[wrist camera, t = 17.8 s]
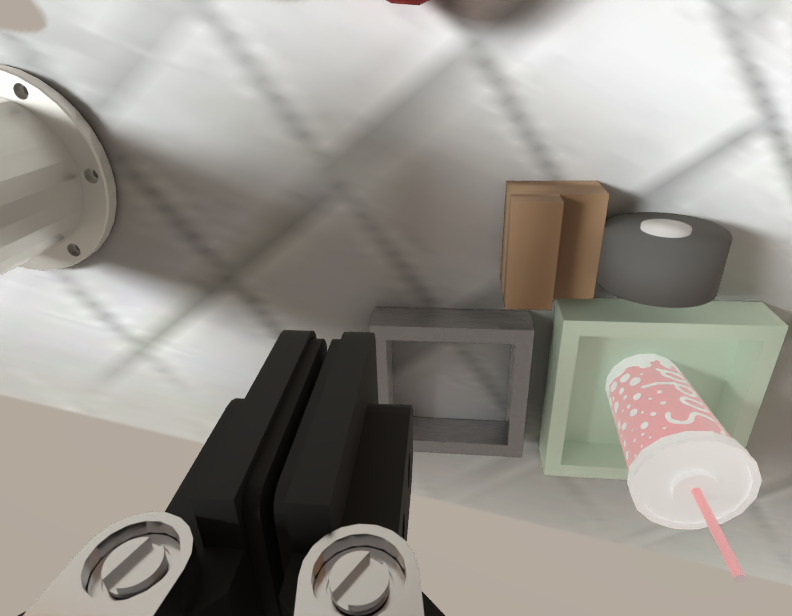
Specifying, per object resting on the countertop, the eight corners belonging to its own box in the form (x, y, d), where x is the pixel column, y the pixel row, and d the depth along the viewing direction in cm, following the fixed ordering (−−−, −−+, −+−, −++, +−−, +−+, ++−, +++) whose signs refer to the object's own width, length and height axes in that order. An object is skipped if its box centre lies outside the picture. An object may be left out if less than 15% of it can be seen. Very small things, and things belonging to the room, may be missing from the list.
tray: (538, 444, 39) (543, 475, 36) (555, 297, 33) (563, 320, 31) (713, 453, 37) (732, 486, 35) (761, 301, 32) (788, 326, 29)
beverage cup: (714, 372, 34) (858, 570, 21) (647, 434, 36) (739, 640, 24) (636, 326, 33) (740, 505, 20) (573, 393, 36) (631, 586, 23)
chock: (500, 275, 33) (504, 309, 29) (506, 180, 30) (512, 202, 26) (583, 277, 33) (599, 311, 29) (596, 179, 30) (616, 202, 26)
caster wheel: (585, 263, 32) (609, 309, 27) (593, 208, 30) (620, 246, 25) (691, 265, 31) (736, 313, 26) (704, 208, 30) (756, 247, 24)
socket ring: (381, 426, 40) (376, 449, 37) (375, 307, 35) (368, 325, 33) (518, 432, 38) (521, 457, 36) (530, 310, 34) (534, 330, 32)
